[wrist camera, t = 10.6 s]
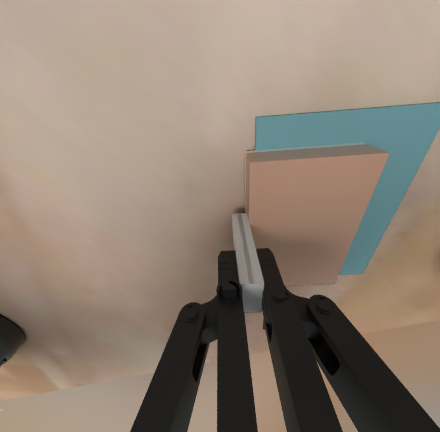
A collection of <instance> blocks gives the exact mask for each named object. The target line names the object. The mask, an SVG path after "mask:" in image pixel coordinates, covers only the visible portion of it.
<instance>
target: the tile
mask: <svg viewBox="0 0 440 432" xmlns="http://www.w3.org/2000/svg"><path fill="white" fill-rule="evenodd" d="M389 154H390V153H389V152H387V151H384V150H381V149H379V148H376V147H374V146H371V145H368V144H366V143H363V142H361V143H347V144H334V145H320V146H307V147H293V148H279V149H266V150H252V151H245V213H247V218H248V223H249V224H250V228H251V232H252V236H253V240H254V244H255V248H256V249H258V248H269V249H270V250H271V251H272V252H273V254H274V257H275V261H276V263H277V266H278V268H279V271H280V274H281V277H282V280H283V283H284V285H285V286H296V285H320V284H335V282H336V279H337V277H338V274H339V272H340V270H341V267H342V265H343V263H344V260H345V258H346V256H347V253H348V251H349V248H350V246H351V244H352V241H353V239H354V237H355V234H356V232H357V230H358V227H359V225H360V222H361V220H362V218H363V215H364V213H365V211H366V208H367V206H368V203H369V201H370V199H371V196H372V194H373V192H374V189H375V187H376V185H377V182H378V180H379V177H380V175H381V173H382V170H383V168H384V166H385V163H386V161H387V159H388V156H389Z"/></svg>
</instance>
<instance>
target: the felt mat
mask: <svg viewBox="0 0 440 432" xmlns="http://www.w3.org/2000/svg"><path fill="white" fill-rule="evenodd" d="M439 128H440V102H438V103H425V104H413V105H400V106H388V107H375V108H363V109H350V110H338V111H325V112H313V113H300V114H288V115H275V116H263V117H256V125H255V150H266V149H279V148H293V147H307V146H320V145H334V144H347V143H361V142H363V143H366V144H368V145H371V146H374V147H376V148H379V149H381V150H384V151H387V152H389V153H390V154H389V156H388V159H387V161H386V163H385V166H384V168H383V170H382V173H381V175H380V177H379V180H378V182H377V185H376V187H375V189H374V192H373V194H372V196H371V199H370V201H369V203H368V206H367V208H366V211H365V213H364V215H363V218H362V220H361V222H360V225H359V227H358V230H357V232H356V234H355V237H354V239H353V241H352V244H351V246H350V248H349V251H348V253H347V256H346V258H345V260H344V263H343V265H342V267H341V270H340V272H339V274H338V275H342V274H363V272H364V270H365V268H366V266H367V264H368V262H369V260H370V259H371V257H372V255H373V253H374V251H375V249H376V247H377V245H378V243H379V242H380V240H381V238H382V236H383V234H384V232H385V230H386V228H387V226H388V225H389V223H390V221H391V219H392V217H393V215H394V213H395V211H396V210H397V208H398V206H399V204H400V202H401V200H402V198H403V196H404V194H405V193H406V191H407V189H408V187H409V185H410V183H411V181H412V179H413V177H414V176H415V174H416V172H417V170H418V168H419V166H420V164H421V162H422V160H423V159H424V157H425V155H426V153H427V151H428V149H429V147H430V145H431V143H432V142H433V140H434V138H435V136H436V134H437V132H438V130H439Z"/></svg>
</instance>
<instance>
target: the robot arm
mask: <svg viewBox="0 0 440 432" xmlns="http://www.w3.org/2000/svg"><path fill="white" fill-rule="evenodd" d="M232 232H233V246H234V250H233V251H221V252H220V254H219V256H218V286H217V290H216V291H217V295H216V296H215V298H214V299H212V300H211V301H209V302H207V303H204V304H202V305H201V304H199V303H196V302H191V303H189V304H187V305H185V306H184V307H183V308H182V310H181V311H180V313H179V316H178V318H177V320H176V323H175V325H174V328H173V330H172V332H171V335H170V337H169V340H168V342H167V344H166V347H165V349H164V352H163V354H162V356H161V359H160V361H159V364H158V366H157V369H156V371H155V373H154V376H153V378H152V381H151V383H150V385H149V388H148V390H147V393H146V395H145V397H144V400H143V402H142V405H141V407H140V409H139V412H138V414H137V417H136V419H135V421H134V424H133V426H132V429H131V431H130V432H187V430H188V426H189V423H190V418H191V414H192V411H193V406H194V403H195V398H196V395H197V390H198V386H199V383H200V379H201V375H202V371H203V366H204V363H205V359H206V355H207V351H208V347H209V343H210V342H212V341H214V340H216V339H218V355H217V362H218V364H217V373H218V375H217V376H218V377H217V382H218V383H217V432H258V431H257V423H256V413H255V404H254V396H253V386H252V378H251V369H250V360H249V351H248V343H247V334H246V325H245V316H244V313H254V312H262V311H263V315H264V321H263V329H265V330H266V335H267V340H268V344H269V349H270V354H271V359H272V363H273V368H274V373H275V377H276V382H277V387H278V392H279V397H280V401H281V406H282V411H283V415H284V420H285V425H286V429H287V432H343V431H342V429H341V426H340V423H339V421H338V418H337V415H336V413H335V410H334V407H333V405H332V402H331V399H330V397H329V394H328V391H327V388H326V386H325V383H324V381H323V378H322V375H321V372H320V370H319V367H318V364H319V366H320V368H321V369H322V371H323V373H324V374H325V376H326V378H327V379H328V381H329V383H330V384H331V386H332V388H333V389H334V391H335V393H336V395H337V396H338V398H339V400H340V401H341V403H342V405H343V407H344V408H345V410H346V412H347V413H348V415H349V417H350V418H351V420H352V422H353V423H354V425H355V427H356V428H357V430H358V432H440V428H439V427H438V426H437V425H436V424H435V422H434V421H433V420H432V419H431V418H430V416H429V415H428V414H427V413H426V412H425V410H424V409H423V408H422V407H421V406H420V405H419V403H418V402H417V401H416V400H415V399H414V397H413V396H412V395H411V394H410V393H409V391H408V390H407V389H406V388H405V387H404V385H403V384H402V383H401V382H400V381H399V379H398V378H397V377H396V376H395V375H394V374H393V372H392V371H391V370H390V369H389V368H388V367H387V365H386V364H385V363H384V362H383V361H382V359H381V358H380V357H379V356H378V354H377V353H376V352H375V351H374V350H373V349H372V347H371V346H370V345H369V344H368V343H367V341H366V340H365V339H364V338H363V337H362V335H361V334H360V333H359V332H358V331H357V329H356V328H355V327H354V326H353V325H352V323H351V322H350V321H349V320H348V319H347V318H346V316H345V315H344V314H343V313H342V312H341V310H340V309H339V308H338V307H337V306H336V304H335V303H334V302H333V301H332V300H330V299H329V298H327V297H325V296H322V295H313V296H312V297H310V299H308V298H304V297H299V296H296V295H294V294H292V293H291V292H289V291H288V290H287V289H286V287H285V285H284V283H283V280H282V277H281V274H280V271H279V268H278V266H277V263H276V261H275V257H274V254H273V252H272V251H271V250H270V249H269V248H258V249H256V248H255V244H254V240H253V236H252V232H251V228H250V224H249V223H248V218H247V213H240V214H232ZM24 340H25V337H24V334H23V333H22V331H21V330H20V329H19V328H18V327H17V326H15V325H14V324H13V323H11V322H10V321H8V320H6V319H5V318H3V317H1V316H0V366H1V365H3V364H5V363H6V362H7V361H8V360H10V359H11V358H12V356H13V355H14V354H15V353H16V351H17V350H18V349H19V348H20V346H21V345H22V344H23V342H24ZM316 361H317V362H316ZM317 363H318V364H317Z"/></svg>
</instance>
